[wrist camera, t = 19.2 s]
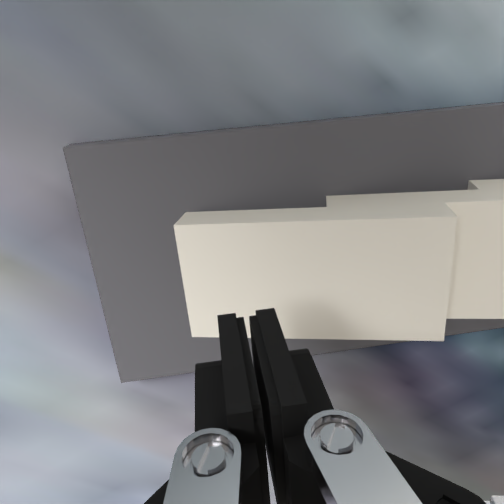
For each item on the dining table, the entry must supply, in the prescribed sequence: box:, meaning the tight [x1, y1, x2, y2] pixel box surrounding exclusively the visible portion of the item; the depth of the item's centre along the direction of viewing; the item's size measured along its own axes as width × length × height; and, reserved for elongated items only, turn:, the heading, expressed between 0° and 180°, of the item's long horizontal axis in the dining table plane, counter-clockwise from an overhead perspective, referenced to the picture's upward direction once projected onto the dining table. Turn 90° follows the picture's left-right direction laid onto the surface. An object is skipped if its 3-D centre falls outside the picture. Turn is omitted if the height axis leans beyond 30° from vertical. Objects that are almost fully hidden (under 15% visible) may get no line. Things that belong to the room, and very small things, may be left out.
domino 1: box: [174, 203, 457, 341], centre depth 17 cm, size 2×5×10 cm
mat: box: [63, 102, 504, 383], centre depth 20 cm, size 30×11×1 cm, turn 95°
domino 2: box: [326, 188, 504, 319], centre depth 17 cm, size 2×5×10 cm
